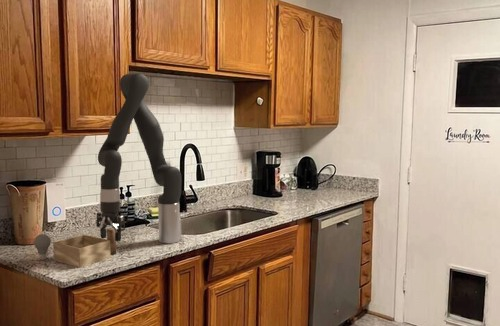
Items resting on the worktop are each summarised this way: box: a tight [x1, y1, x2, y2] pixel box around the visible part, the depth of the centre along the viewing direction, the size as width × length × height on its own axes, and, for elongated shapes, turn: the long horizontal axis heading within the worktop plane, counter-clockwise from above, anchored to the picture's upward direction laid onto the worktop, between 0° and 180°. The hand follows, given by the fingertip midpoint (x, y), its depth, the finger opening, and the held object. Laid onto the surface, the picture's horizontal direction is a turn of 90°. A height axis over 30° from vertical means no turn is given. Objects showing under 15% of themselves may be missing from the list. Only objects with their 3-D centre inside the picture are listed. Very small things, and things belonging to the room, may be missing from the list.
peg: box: [106, 227, 117, 256], centre depth 192 cm, size 3×3×10 cm
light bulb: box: [33, 233, 52, 261], centre depth 184 cm, size 6×6×10 cm
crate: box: [52, 234, 112, 268], centre depth 185 cm, size 14×16×7 cm
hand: (110, 239), depth 192 cm, fingers open, 8 cm apart
